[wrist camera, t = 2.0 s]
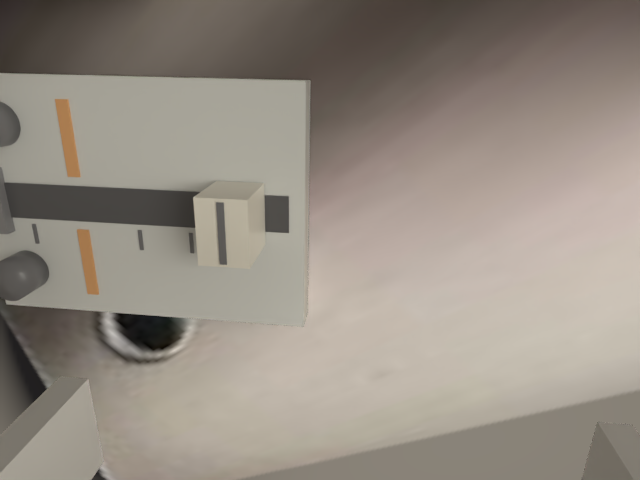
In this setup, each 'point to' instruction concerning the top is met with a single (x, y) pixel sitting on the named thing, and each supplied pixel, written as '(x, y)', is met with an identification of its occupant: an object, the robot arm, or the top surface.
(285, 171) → the console
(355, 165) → the top surface
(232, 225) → the fader
